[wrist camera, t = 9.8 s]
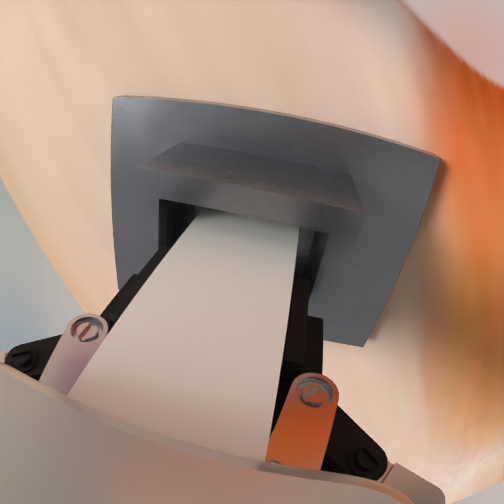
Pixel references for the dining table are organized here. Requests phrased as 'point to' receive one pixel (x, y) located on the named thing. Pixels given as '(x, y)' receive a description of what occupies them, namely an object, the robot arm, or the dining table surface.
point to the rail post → (203, 338)
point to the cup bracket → (272, 195)
